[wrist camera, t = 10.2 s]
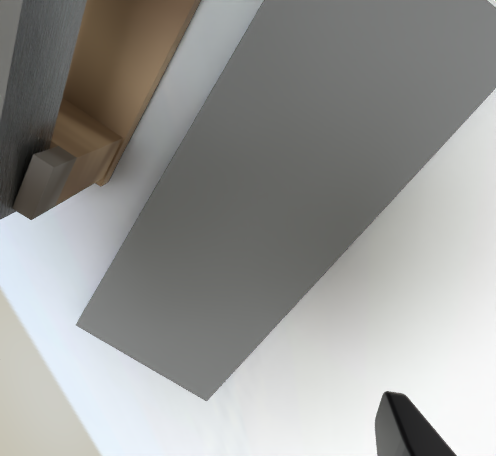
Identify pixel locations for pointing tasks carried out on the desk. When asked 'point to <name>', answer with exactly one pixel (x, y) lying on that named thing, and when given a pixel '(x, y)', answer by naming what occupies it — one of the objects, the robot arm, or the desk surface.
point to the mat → (287, 173)
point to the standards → (104, 95)
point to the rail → (32, 82)
